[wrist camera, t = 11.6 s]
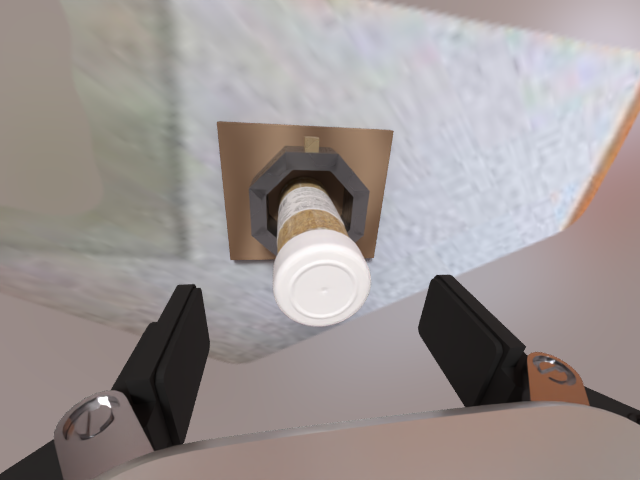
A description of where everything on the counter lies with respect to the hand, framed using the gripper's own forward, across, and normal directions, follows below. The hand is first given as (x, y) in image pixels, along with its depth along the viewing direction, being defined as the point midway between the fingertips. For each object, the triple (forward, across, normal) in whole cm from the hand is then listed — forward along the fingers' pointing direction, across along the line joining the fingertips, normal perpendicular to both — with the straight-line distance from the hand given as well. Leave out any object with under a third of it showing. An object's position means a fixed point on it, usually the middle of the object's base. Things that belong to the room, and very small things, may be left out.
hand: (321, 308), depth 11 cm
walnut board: (+16, -1, 0) cm, 16 cm away
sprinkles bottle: (+15, -1, 0) cm, 15 cm away
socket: (+16, -1, 0) cm, 16 cm away
